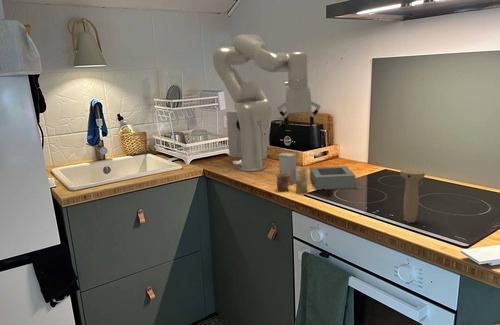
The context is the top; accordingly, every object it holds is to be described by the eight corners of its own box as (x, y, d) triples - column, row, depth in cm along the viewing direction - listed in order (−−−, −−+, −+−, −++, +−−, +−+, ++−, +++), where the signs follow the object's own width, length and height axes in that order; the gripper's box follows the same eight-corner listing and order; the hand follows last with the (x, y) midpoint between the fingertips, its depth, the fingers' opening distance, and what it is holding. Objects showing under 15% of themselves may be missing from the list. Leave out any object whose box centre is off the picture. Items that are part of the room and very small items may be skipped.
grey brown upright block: (297, 194, 141) (296, 170, 138) (295, 190, 144) (295, 168, 142) (307, 193, 140) (307, 170, 138) (306, 190, 144) (306, 167, 142)
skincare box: (279, 182, 156) (278, 154, 153) (285, 180, 159) (284, 152, 156) (291, 184, 152) (290, 155, 149) (297, 182, 155) (296, 153, 152)
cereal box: (270, 156, 205) (268, 110, 200) (263, 159, 199) (261, 111, 193) (236, 153, 216) (233, 110, 210) (229, 156, 210) (226, 111, 204)
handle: (402, 216, 115) (404, 168, 111) (424, 220, 111) (427, 171, 107) (395, 221, 111) (397, 172, 108) (418, 226, 107) (421, 175, 104)
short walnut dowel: (277, 192, 144) (277, 176, 143) (277, 188, 148) (276, 174, 147) (288, 191, 144) (287, 176, 143) (287, 188, 148) (286, 173, 147)
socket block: (315, 189, 144) (315, 177, 143) (310, 179, 159) (310, 167, 158) (355, 188, 144) (355, 175, 143) (346, 177, 158) (346, 165, 157)
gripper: (275, 85, 148) (277, 129, 152) (320, 83, 146) (321, 127, 150) (277, 85, 156) (278, 126, 160) (319, 82, 153) (320, 124, 157)
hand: (299, 126), depth 155 cm, fingers open, 9 cm apart
